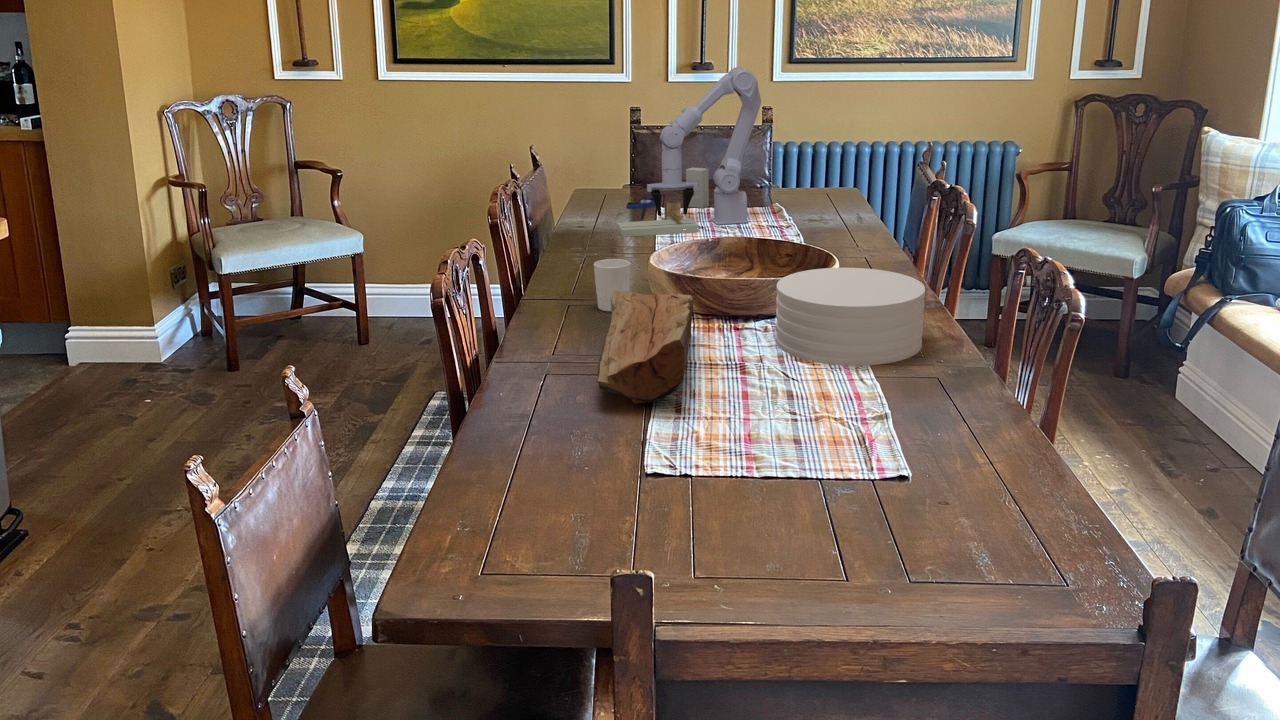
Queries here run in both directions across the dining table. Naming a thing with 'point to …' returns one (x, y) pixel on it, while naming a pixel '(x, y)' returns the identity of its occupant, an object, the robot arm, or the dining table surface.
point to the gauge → (673, 210)
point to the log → (646, 345)
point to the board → (657, 227)
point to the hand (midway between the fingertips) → (672, 214)
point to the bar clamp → (642, 205)
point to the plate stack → (849, 316)
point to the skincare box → (699, 187)
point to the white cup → (610, 280)
